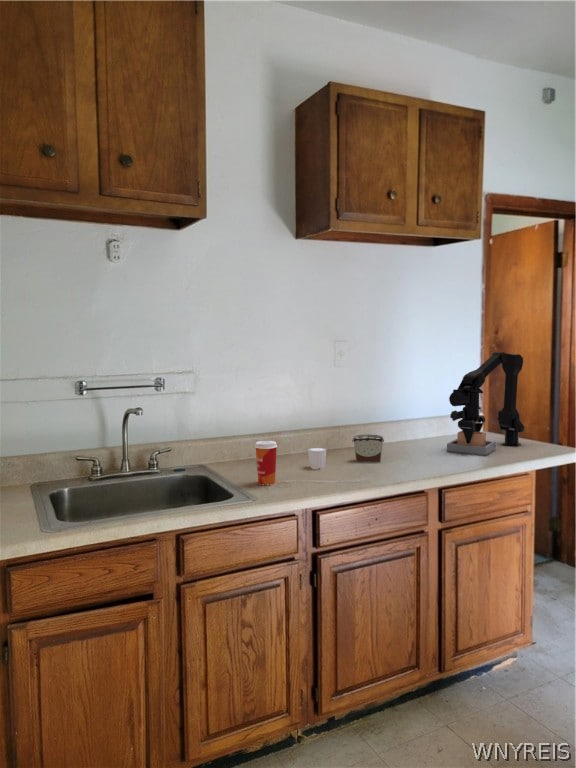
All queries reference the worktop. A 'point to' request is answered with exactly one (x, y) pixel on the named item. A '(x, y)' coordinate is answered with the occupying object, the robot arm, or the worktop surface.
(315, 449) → the white ribbed cup
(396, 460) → the worktop surface
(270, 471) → the paper cup
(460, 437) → the box
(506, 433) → the robot arm
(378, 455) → the food container
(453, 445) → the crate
